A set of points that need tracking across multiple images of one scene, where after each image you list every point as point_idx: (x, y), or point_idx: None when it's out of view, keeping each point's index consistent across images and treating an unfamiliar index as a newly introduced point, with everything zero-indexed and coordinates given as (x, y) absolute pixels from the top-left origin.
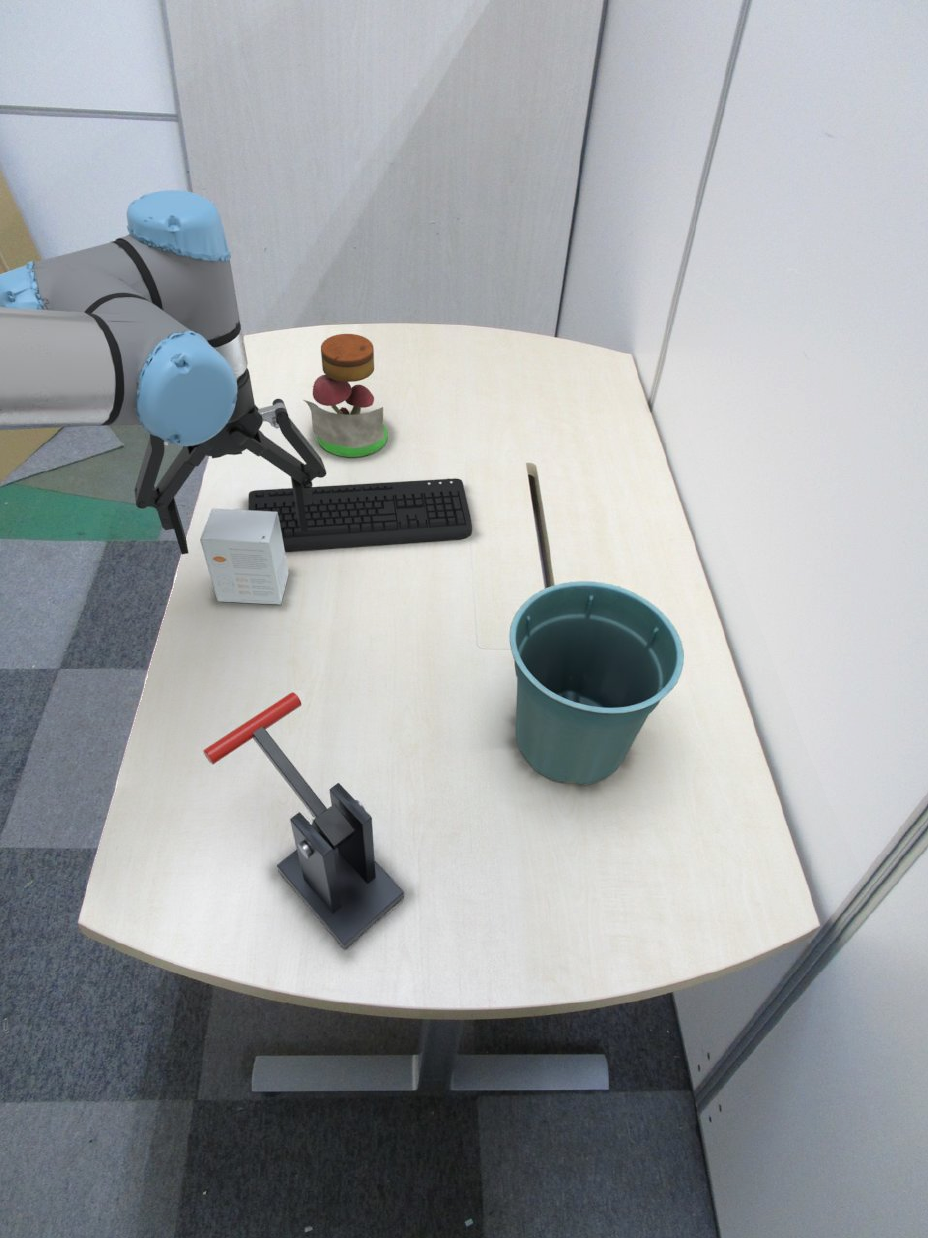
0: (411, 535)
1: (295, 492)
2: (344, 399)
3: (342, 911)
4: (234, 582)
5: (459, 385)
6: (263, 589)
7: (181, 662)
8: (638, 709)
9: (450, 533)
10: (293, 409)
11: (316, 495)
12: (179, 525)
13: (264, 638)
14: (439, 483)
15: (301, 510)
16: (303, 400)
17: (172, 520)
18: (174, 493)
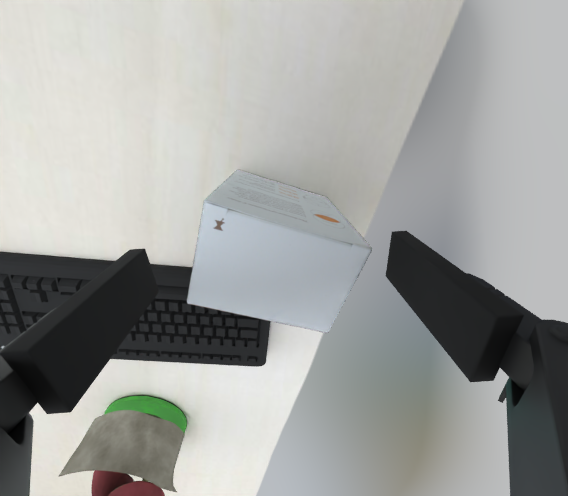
0: (36, 264)
1: (50, 335)
2: (115, 491)
3: None
4: (301, 197)
5: (32, 465)
6: (256, 180)
7: (401, 75)
8: None
9: None
10: (213, 452)
11: (179, 349)
12: (447, 273)
13: (267, 99)
14: (4, 346)
15: (96, 284)
16: (175, 490)
17: (479, 286)
18: (563, 390)
